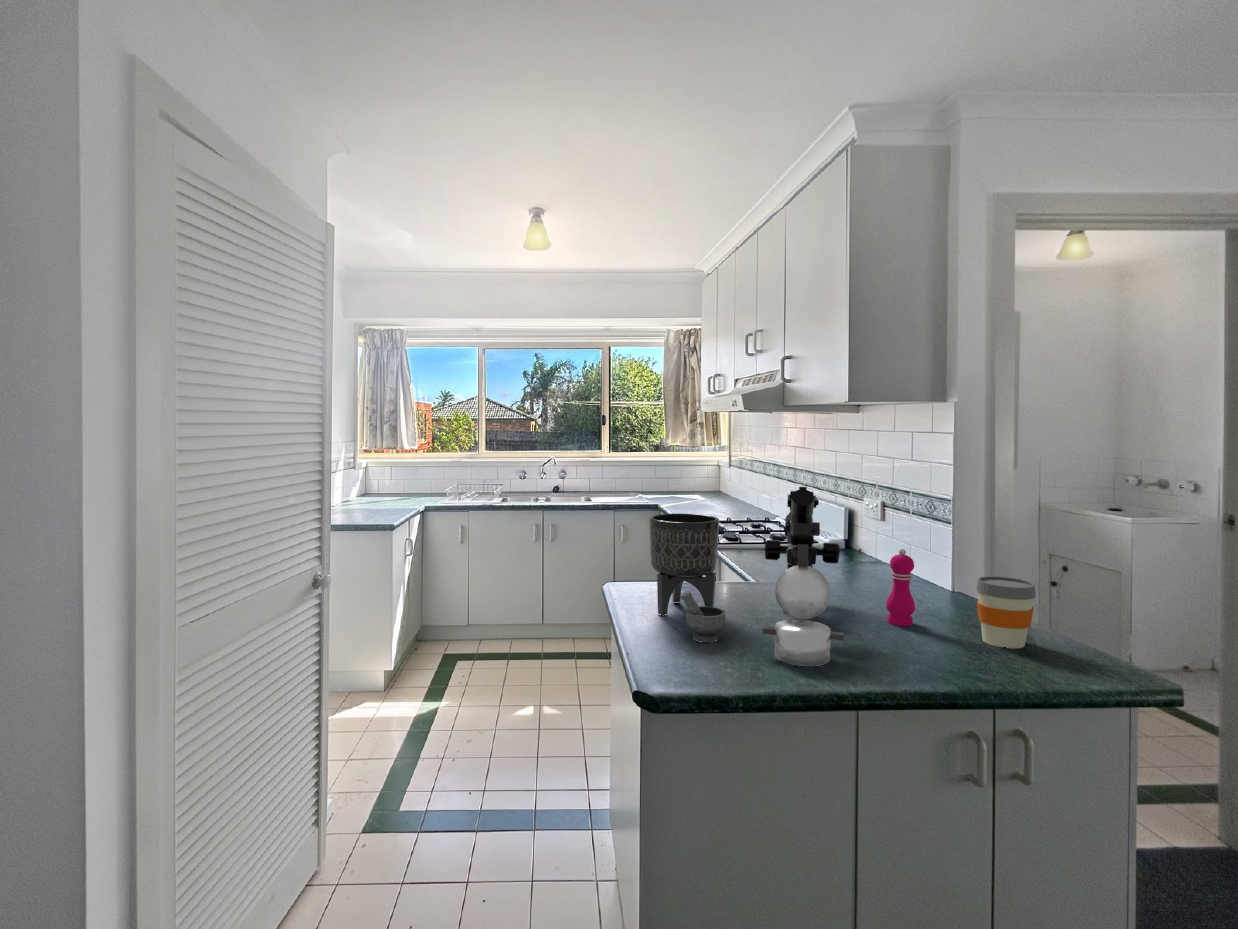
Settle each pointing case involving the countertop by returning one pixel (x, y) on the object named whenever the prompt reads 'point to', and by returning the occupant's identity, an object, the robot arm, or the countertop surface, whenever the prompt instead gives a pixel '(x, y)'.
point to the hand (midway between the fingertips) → (801, 578)
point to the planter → (683, 555)
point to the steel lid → (802, 589)
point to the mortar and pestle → (703, 619)
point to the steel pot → (802, 641)
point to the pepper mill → (901, 591)
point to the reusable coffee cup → (1005, 610)
